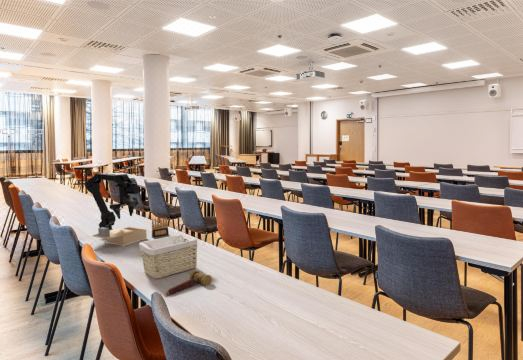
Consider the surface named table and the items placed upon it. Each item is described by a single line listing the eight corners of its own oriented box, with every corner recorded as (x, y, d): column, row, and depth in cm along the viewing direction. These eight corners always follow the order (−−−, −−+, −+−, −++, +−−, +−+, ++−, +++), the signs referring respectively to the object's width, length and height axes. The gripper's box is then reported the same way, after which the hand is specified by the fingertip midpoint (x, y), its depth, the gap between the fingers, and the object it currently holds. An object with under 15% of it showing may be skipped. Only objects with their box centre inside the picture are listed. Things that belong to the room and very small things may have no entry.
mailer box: (106, 242, 233) (105, 233, 232) (129, 235, 248) (128, 226, 248) (123, 245, 225) (123, 236, 224) (146, 238, 240) (146, 229, 240)
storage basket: (153, 281, 168) (151, 249, 167) (139, 271, 181) (137, 241, 179) (200, 268, 183) (198, 239, 181) (184, 260, 196) (183, 232, 194)
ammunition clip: (152, 237, 242) (151, 219, 240) (151, 237, 243) (150, 219, 242) (168, 235, 247) (167, 217, 246) (167, 234, 249) (166, 216, 248)
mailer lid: (92, 236, 224) (91, 227, 224) (117, 229, 240) (116, 221, 239) (110, 239, 216) (109, 230, 216) (135, 232, 232) (134, 223, 231)
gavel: (171, 292, 148) (156, 286, 155) (172, 303, 149) (158, 296, 155) (211, 273, 164) (196, 268, 170) (212, 283, 164) (197, 278, 171)
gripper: (120, 196, 230) (121, 221, 232) (143, 192, 246) (145, 215, 248) (108, 195, 235) (109, 220, 237) (131, 191, 251) (133, 214, 253)
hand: (125, 217), depth 244 cm, fingers open, 9 cm apart
